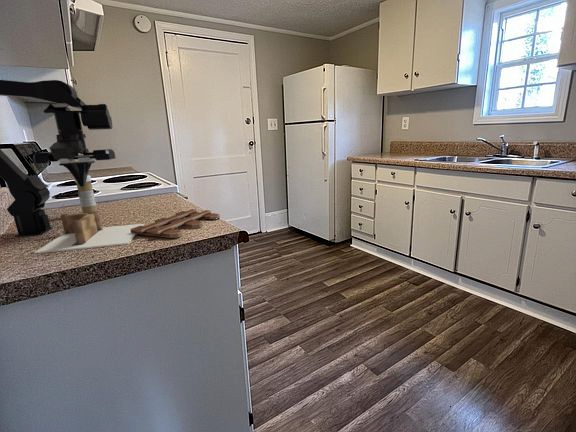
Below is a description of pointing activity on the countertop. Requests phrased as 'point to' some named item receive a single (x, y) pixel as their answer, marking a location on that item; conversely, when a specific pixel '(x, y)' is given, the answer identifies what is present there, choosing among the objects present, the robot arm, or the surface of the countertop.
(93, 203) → the sprinkles bottle
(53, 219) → the countertop surface
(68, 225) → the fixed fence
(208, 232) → the countertop surface
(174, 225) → the decorative fence
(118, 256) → the countertop surface
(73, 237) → the card
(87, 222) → the gate panel
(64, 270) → the countertop surface
